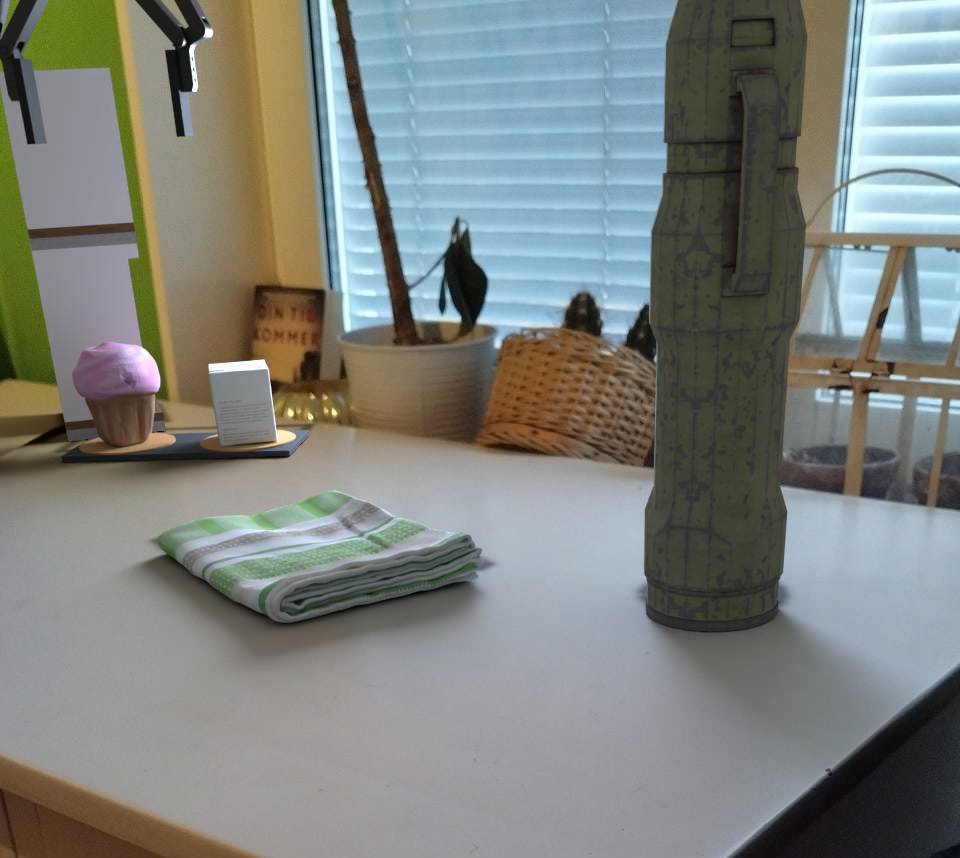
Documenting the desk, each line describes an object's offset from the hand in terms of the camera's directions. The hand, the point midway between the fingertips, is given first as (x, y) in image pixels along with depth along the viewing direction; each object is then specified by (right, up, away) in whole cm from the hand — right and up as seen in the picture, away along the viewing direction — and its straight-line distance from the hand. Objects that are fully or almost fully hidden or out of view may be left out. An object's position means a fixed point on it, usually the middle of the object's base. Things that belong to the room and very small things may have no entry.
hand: (110, 140), depth 117 cm
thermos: (+48, -47, -30) cm, 74 cm away
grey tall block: (-9, -15, +34) cm, 38 cm away
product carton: (+8, -20, +21) cm, 30 cm away
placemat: (+2, -21, +22) cm, 30 cm away
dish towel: (+20, -42, -18) cm, 50 cm away
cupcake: (-4, -20, +22) cm, 30 cm away
